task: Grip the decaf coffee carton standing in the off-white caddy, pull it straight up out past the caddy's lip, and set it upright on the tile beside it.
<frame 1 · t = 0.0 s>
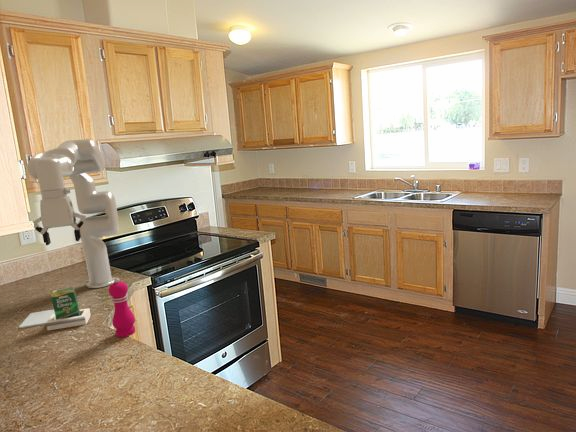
hand: (63, 242, 153), 31 cm above the countertop, tool pointing down, fingers open, 9 cm apart
caddy: (69, 322, 161), on the countertop
tile: (40, 318, 167), on the countertop
pepper mill: (126, 333, 149), on the countertop
coffee box: (69, 323, 161), resting in caddy
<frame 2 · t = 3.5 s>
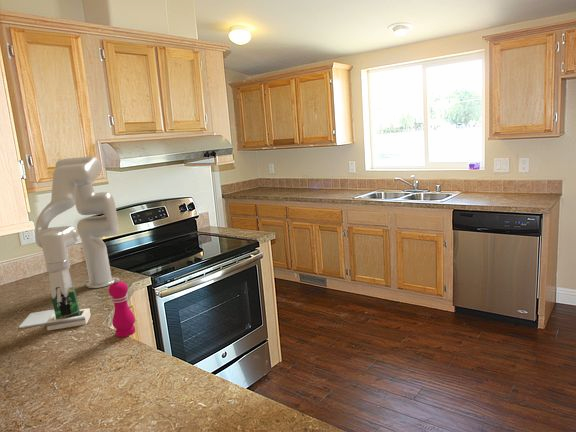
hand: (67, 312, 160), 4 cm above the countertop, tool pointing down, fingers closed on coffee box, 3 cm apart
coffee box: (69, 323, 161), resting in caddy, touching gripper
everything else where it was.
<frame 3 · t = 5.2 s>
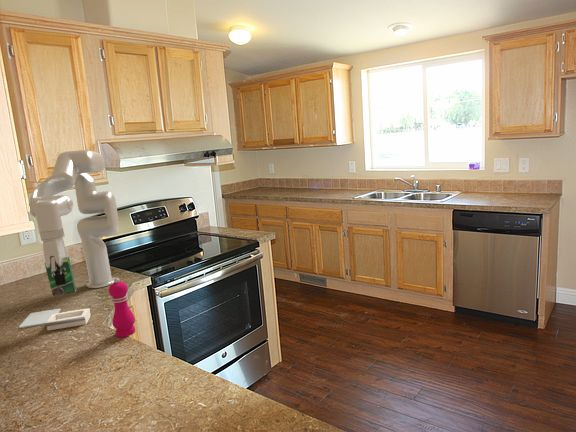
hand: (62, 282, 158), 16 cm above the countertop, tool pointing down, fingers closed on coffee box, 3 cm apart
coffee box: (64, 293, 159), point 11 cm above the countertop, touching gripper
everything else where it was.
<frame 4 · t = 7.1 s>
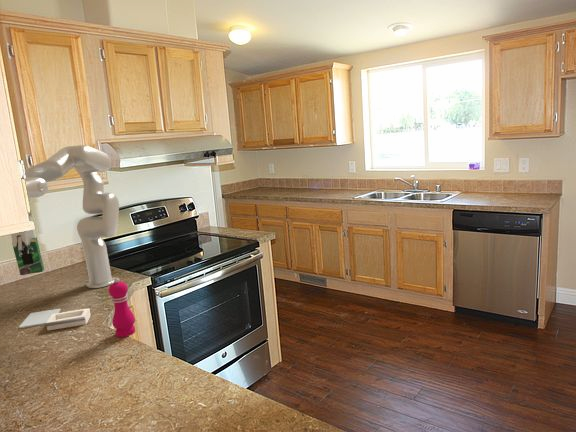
hand: (30, 262, 162), 23 cm above the countertop, tool pointing down, fingers closed on coffee box, 3 cm apart
coffee box: (32, 273, 163), point 18 cm above the countertop, touching gripper
everything else where it was.
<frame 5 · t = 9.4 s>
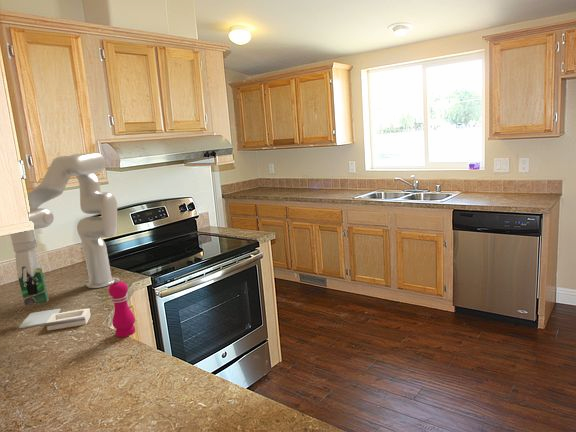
hand: (34, 292, 165), 11 cm above the countertop, tool pointing down, fingers closed on coffee box, 3 cm apart
coffee box: (36, 303, 165), point 7 cm above the countertop, touching gripper
everything else where it was.
when the fingers open (6 cm above the countertop, at t = 11.0 s): coffee box drops 1 cm, resting on tile.
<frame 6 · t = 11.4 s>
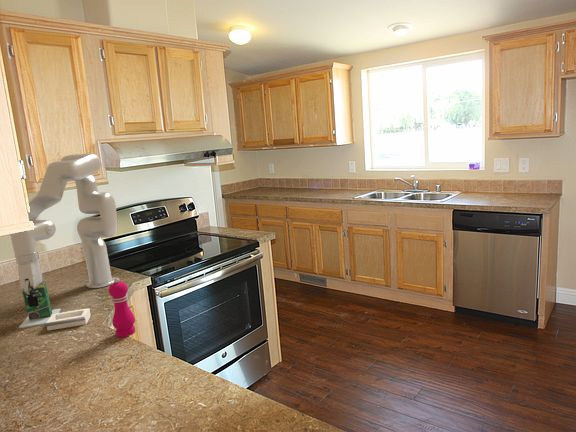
hand: (37, 302, 166), 7 cm above the countertop, tool pointing down, fingers open, 6 cm apart
coffee box: (40, 317, 167), resting on tile
everything else where it was.
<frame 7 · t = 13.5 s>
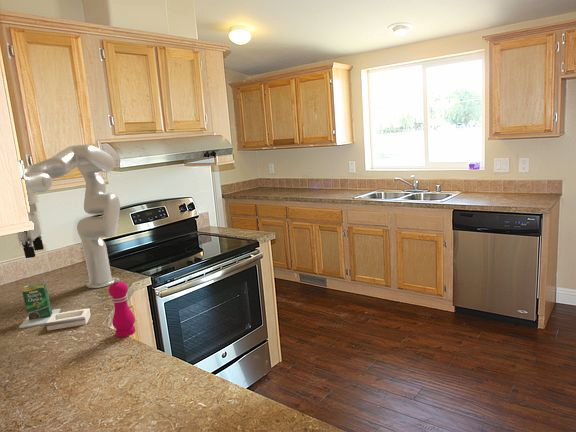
hand: (35, 253, 164), 25 cm above the countertop, tool pointing down, fingers open, 9 cm apart
nothing on the countertop moved.
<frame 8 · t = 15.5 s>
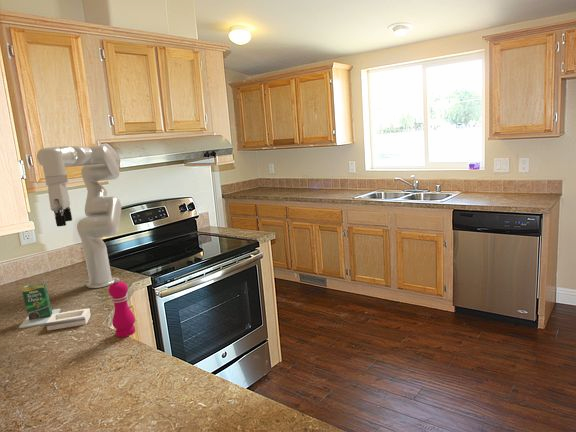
hand: (64, 223, 171), 34 cm above the countertop, tool pointing down, fingers open, 9 cm apart
nothing on the countertop moved.
at the end: coffee box inside the target area on the tile (0.2 cm from its centre), point 0.4 cm above the tile's base; coffee box tilted 0°; the gripper is holding nothing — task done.
